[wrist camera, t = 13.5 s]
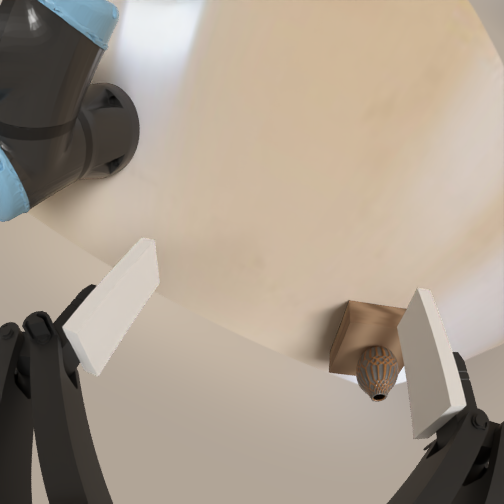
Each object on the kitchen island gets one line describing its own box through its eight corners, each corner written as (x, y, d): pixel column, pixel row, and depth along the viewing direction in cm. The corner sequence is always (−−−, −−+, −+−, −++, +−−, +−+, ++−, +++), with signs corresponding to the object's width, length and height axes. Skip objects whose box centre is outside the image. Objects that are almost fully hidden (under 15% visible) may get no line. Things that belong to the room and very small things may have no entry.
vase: (351, 365, 46) (351, 408, 39) (361, 338, 42) (363, 384, 35) (388, 367, 45) (392, 408, 38) (401, 341, 41) (408, 385, 34)
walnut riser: (329, 351, 52) (329, 372, 48) (349, 300, 45) (350, 322, 41) (392, 359, 50) (394, 379, 46) (419, 310, 43) (425, 331, 39)
